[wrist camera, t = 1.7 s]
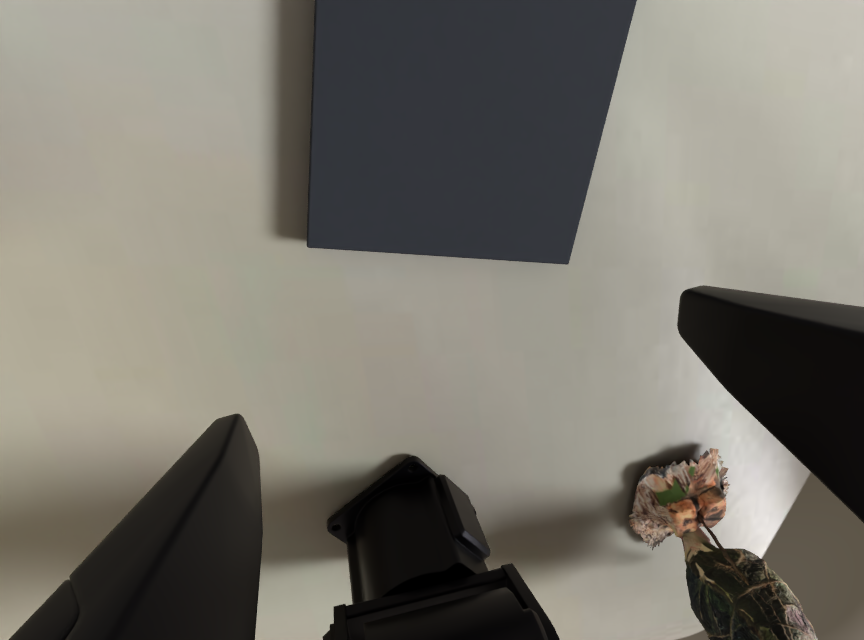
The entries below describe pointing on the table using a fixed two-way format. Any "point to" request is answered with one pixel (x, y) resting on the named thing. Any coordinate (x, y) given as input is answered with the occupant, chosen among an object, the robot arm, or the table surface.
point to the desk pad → (459, 123)
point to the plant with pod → (715, 555)
